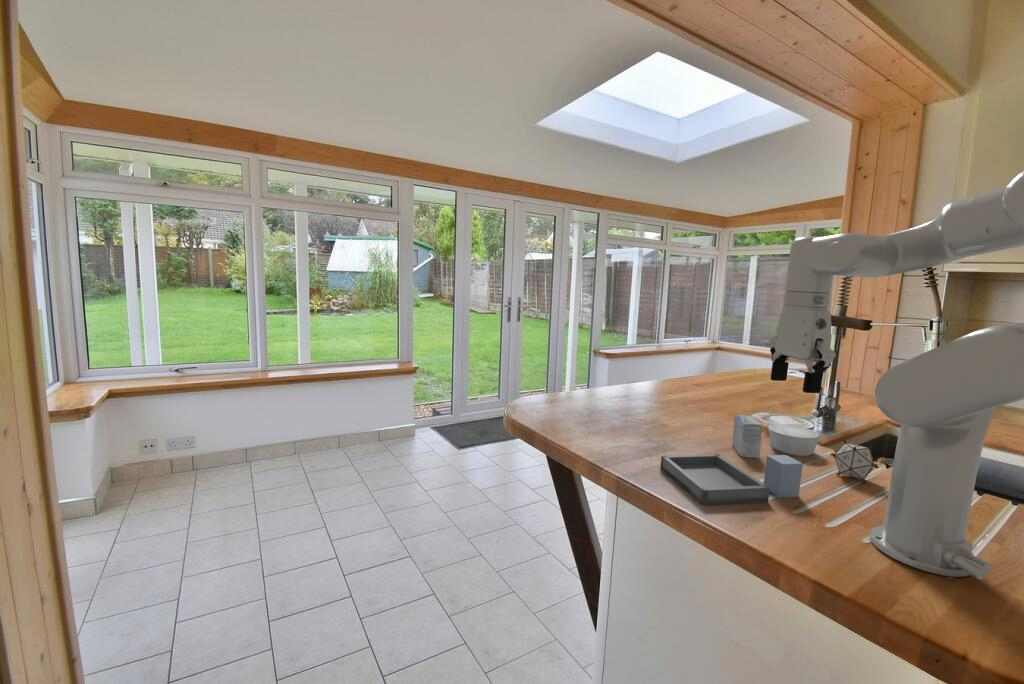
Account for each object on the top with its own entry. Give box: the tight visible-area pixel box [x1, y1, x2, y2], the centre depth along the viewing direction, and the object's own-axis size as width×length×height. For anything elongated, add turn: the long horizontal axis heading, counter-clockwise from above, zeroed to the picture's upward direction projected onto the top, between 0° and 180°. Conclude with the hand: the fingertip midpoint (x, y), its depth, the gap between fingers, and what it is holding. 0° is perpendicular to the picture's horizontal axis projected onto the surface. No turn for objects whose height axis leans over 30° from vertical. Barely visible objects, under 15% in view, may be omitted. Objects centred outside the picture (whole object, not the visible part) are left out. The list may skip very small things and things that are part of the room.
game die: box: [830, 439, 880, 484], centre depth 101 cm, size 9×8×10 cm
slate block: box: [763, 454, 804, 498], centre depth 93 cm, size 4×4×7 cm
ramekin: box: [767, 423, 821, 457], centre depth 118 cm, size 11×11×5 cm
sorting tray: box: [660, 453, 770, 506], centre depth 96 cm, size 17×14×3 cm
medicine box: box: [731, 414, 763, 459], centre depth 115 cm, size 8×4×9 cm, turn 168°
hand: (793, 386), depth 92 cm, fingers open, 9 cm apart
